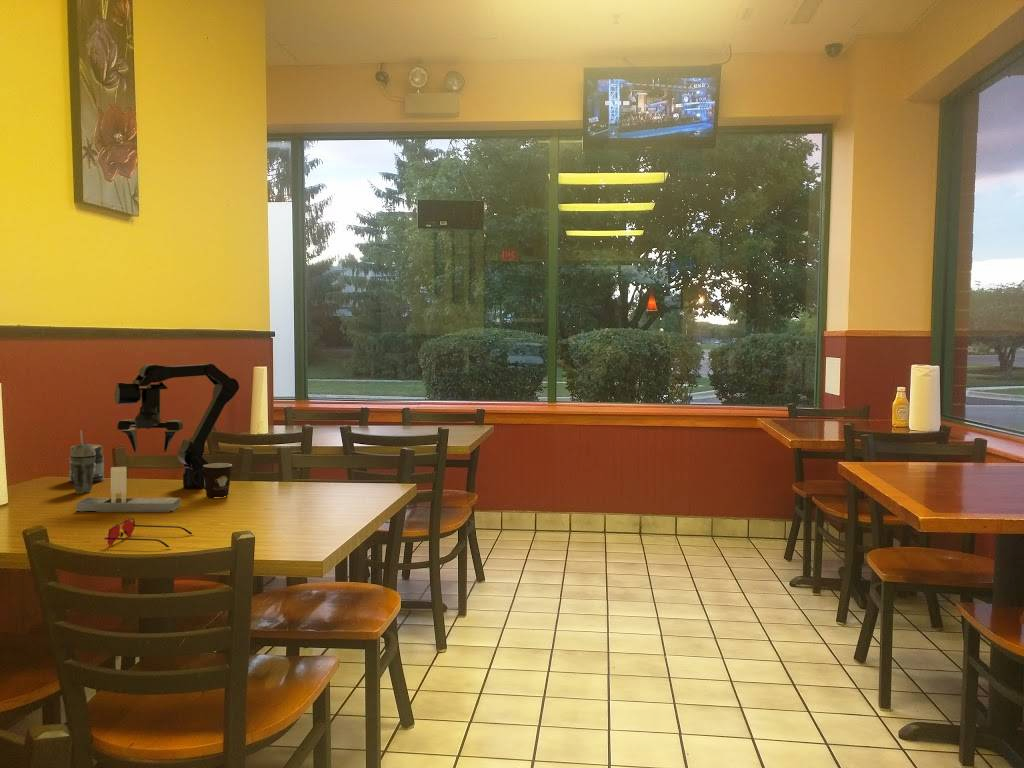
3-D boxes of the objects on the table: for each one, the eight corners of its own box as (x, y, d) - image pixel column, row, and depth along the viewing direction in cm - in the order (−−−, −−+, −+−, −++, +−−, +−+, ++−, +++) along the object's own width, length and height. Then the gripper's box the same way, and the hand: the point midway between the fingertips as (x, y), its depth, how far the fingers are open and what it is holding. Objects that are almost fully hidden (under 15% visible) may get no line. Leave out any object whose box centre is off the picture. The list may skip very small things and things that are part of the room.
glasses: (130, 534, 204) (130, 515, 204) (195, 536, 204) (195, 517, 204) (103, 549, 190) (103, 528, 190) (172, 551, 191) (172, 530, 190)
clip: (126, 507, 234) (126, 466, 233) (126, 509, 230) (126, 468, 229) (111, 508, 232) (111, 467, 231) (110, 510, 228) (110, 469, 228)
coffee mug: (232, 493, 258) (232, 462, 257) (231, 498, 250) (231, 467, 249) (193, 494, 254) (193, 463, 253) (191, 500, 246) (191, 468, 245)
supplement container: (84, 477, 277) (84, 443, 277) (111, 479, 275) (111, 445, 275) (61, 482, 267) (61, 447, 266) (89, 484, 265) (89, 449, 264)
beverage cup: (101, 490, 256) (101, 428, 255) (86, 494, 249) (86, 431, 248) (79, 489, 257) (79, 427, 256) (65, 493, 250) (65, 430, 249)
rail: (180, 506, 237) (180, 497, 237) (172, 512, 229) (172, 503, 229) (87, 506, 234) (87, 497, 233) (76, 512, 226) (76, 503, 226)
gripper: (110, 405, 246) (110, 455, 247) (174, 406, 249) (173, 455, 249) (123, 402, 257) (123, 450, 258) (183, 403, 260) (183, 450, 260)
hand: (150, 451), depth 256 cm, fingers open, 9 cm apart
